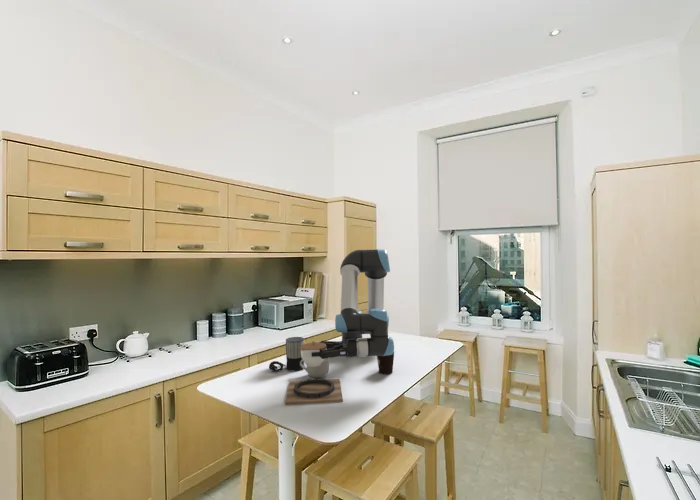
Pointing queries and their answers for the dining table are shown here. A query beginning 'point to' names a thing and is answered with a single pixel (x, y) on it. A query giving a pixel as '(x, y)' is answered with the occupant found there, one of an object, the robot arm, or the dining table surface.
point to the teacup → (317, 369)
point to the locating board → (314, 391)
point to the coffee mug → (385, 364)
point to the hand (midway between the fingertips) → (303, 350)
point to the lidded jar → (314, 360)
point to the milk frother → (291, 355)
